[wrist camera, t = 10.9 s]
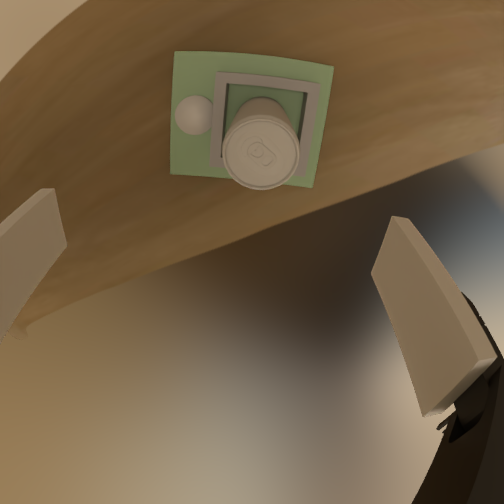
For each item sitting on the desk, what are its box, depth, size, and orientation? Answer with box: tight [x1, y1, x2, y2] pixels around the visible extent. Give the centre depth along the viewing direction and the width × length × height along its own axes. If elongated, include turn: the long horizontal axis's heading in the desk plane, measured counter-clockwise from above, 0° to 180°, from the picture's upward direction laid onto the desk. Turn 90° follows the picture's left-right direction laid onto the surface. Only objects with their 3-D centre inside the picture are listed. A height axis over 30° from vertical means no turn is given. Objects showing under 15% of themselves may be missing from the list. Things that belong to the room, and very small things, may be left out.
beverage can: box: [222, 96, 300, 190], centre depth 22 cm, size 5×5×12 cm
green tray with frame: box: [170, 51, 334, 188], centre depth 27 cm, size 15×13×4 cm
